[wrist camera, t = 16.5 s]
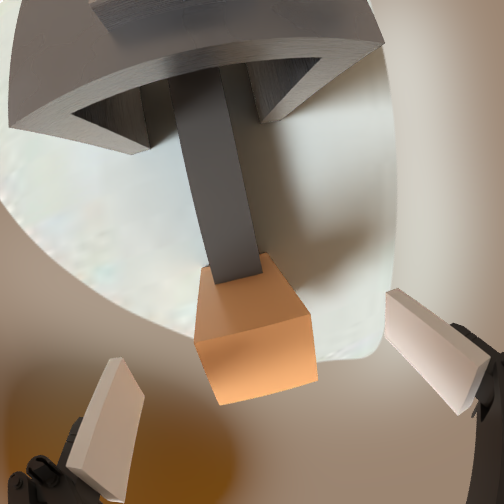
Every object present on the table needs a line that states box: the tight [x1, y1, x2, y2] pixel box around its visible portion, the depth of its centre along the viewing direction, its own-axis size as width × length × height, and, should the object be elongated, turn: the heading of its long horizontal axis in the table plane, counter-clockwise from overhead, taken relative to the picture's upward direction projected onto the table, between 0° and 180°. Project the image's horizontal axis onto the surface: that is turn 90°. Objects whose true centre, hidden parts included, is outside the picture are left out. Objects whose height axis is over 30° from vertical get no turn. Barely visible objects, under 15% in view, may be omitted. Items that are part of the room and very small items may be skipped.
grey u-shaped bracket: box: [8, 0, 385, 155], centre depth 10 cm, size 6×11×15 cm, turn 102°
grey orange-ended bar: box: [168, 67, 318, 405], centre depth 14 cm, size 24×5×10 cm, turn 12°
